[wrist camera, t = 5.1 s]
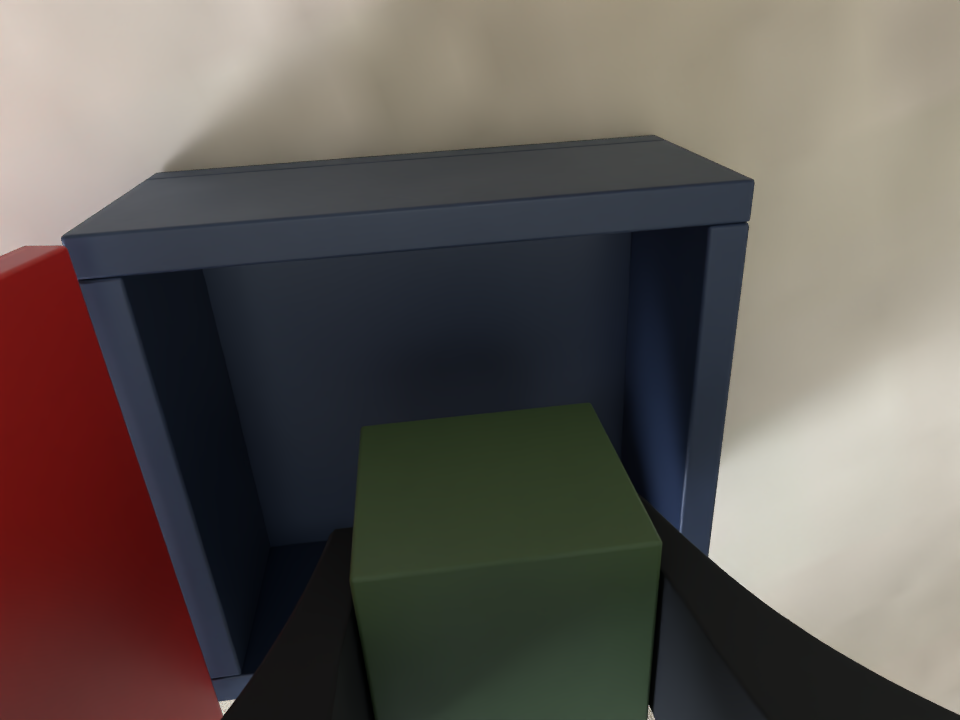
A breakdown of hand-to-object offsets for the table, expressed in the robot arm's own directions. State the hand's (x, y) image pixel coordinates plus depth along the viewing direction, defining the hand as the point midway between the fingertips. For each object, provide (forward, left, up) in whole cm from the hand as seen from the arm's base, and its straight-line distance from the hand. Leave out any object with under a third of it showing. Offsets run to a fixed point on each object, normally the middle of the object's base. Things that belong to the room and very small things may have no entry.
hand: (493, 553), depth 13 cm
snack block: (0, 0, -1) cm, 1 cm away
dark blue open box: (0, +1, -7) cm, 7 cm away
